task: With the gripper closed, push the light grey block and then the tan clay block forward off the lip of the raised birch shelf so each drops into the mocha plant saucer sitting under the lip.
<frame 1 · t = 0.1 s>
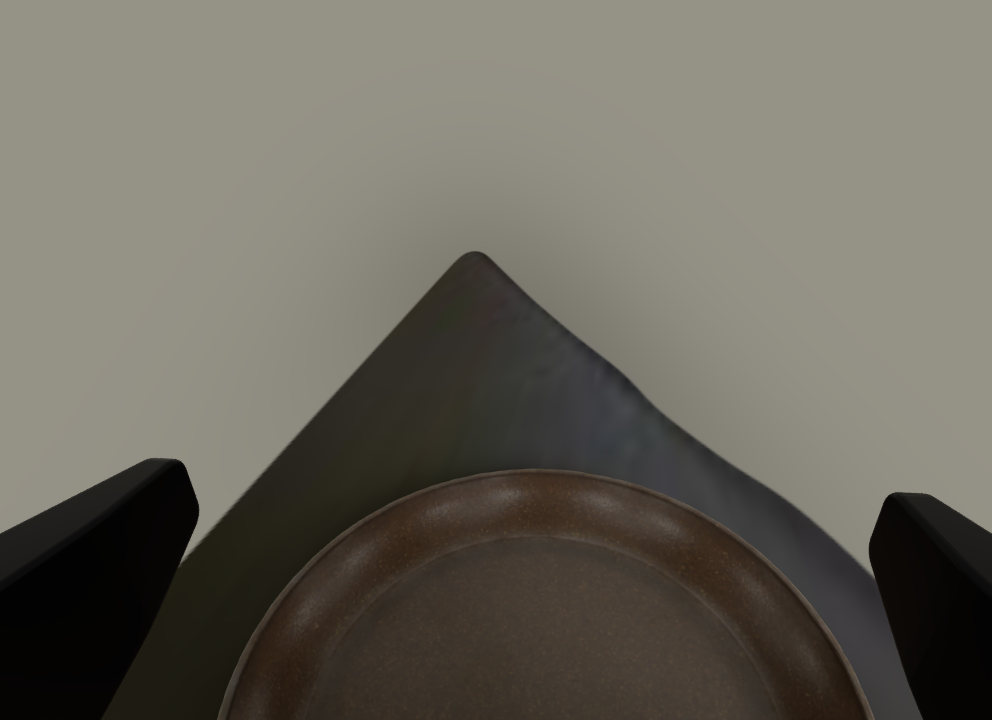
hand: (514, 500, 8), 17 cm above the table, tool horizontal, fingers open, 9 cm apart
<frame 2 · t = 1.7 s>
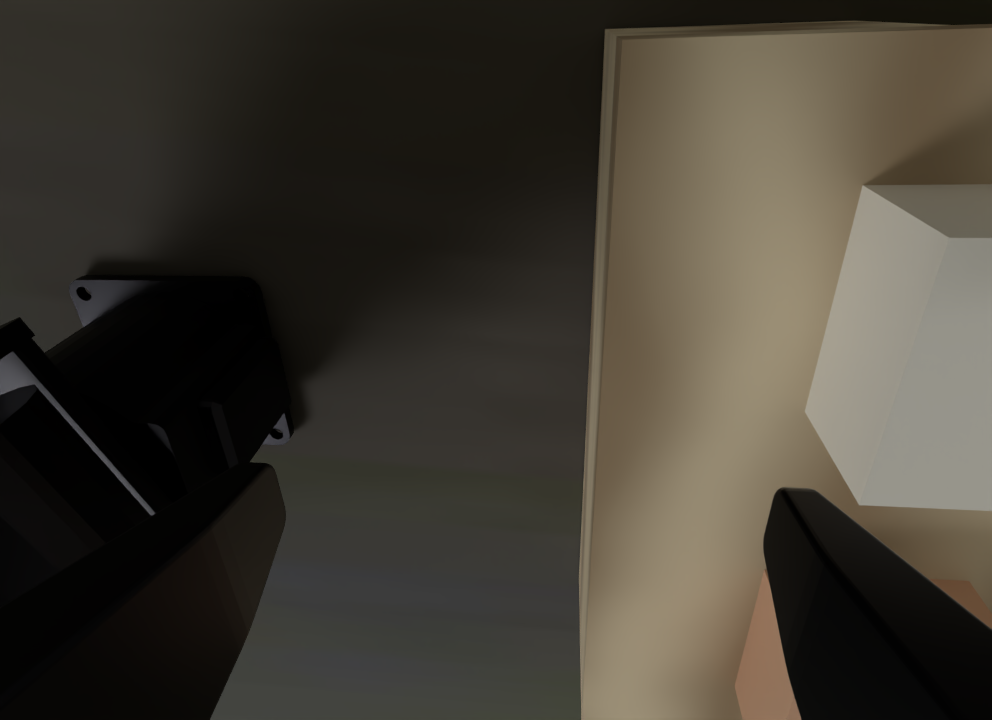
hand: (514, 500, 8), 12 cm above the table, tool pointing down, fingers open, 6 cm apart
tan clay block: (841, 638, 17), point 6 cm above the table, touching board
board: (760, 372, 20), on the table
light grey block: (963, 311, 12), point 6 cm above the table, touching board
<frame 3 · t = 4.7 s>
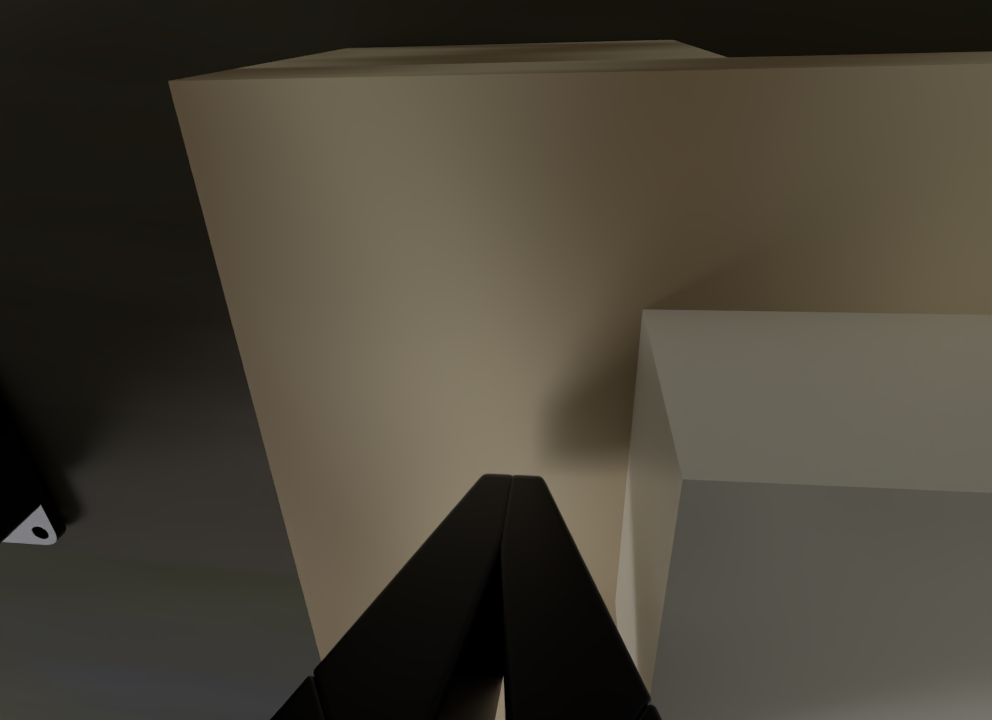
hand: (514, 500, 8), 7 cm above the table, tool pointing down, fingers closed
board: (609, 474, 16), on the table
light grey block: (819, 485, 8), point 6 cm above the table, touching gripper
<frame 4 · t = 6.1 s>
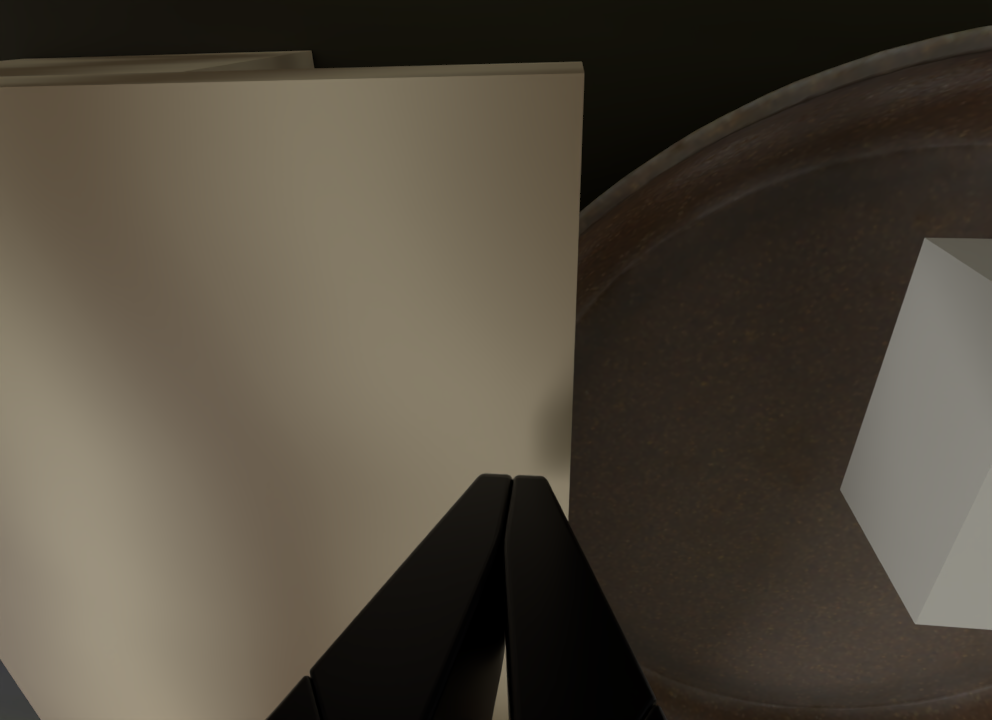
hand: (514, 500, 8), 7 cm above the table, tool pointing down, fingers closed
plant saucer: (840, 473, 16), on the table, touching light grey block
board: (359, 465, 17), on the table
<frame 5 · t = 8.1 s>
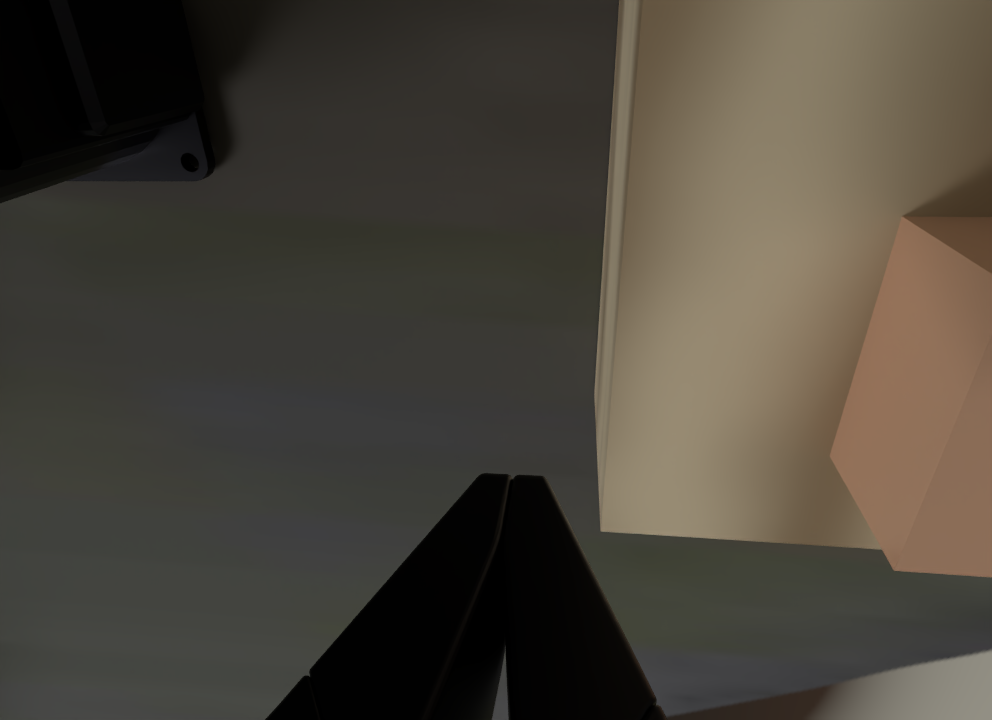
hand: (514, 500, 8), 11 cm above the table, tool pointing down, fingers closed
board: (862, 32, 14), on the table
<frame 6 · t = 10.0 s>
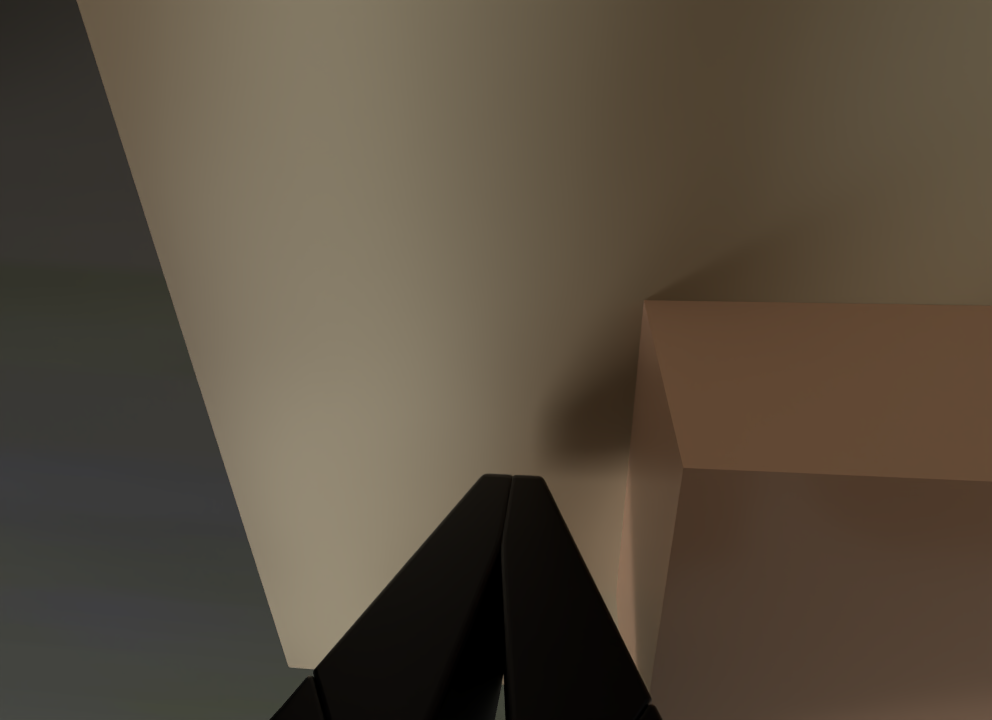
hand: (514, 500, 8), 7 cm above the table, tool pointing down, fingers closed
tan clay block: (822, 478, 8), point 6 cm above the table, touching board, gripper
board: (603, 35, 11), on the table
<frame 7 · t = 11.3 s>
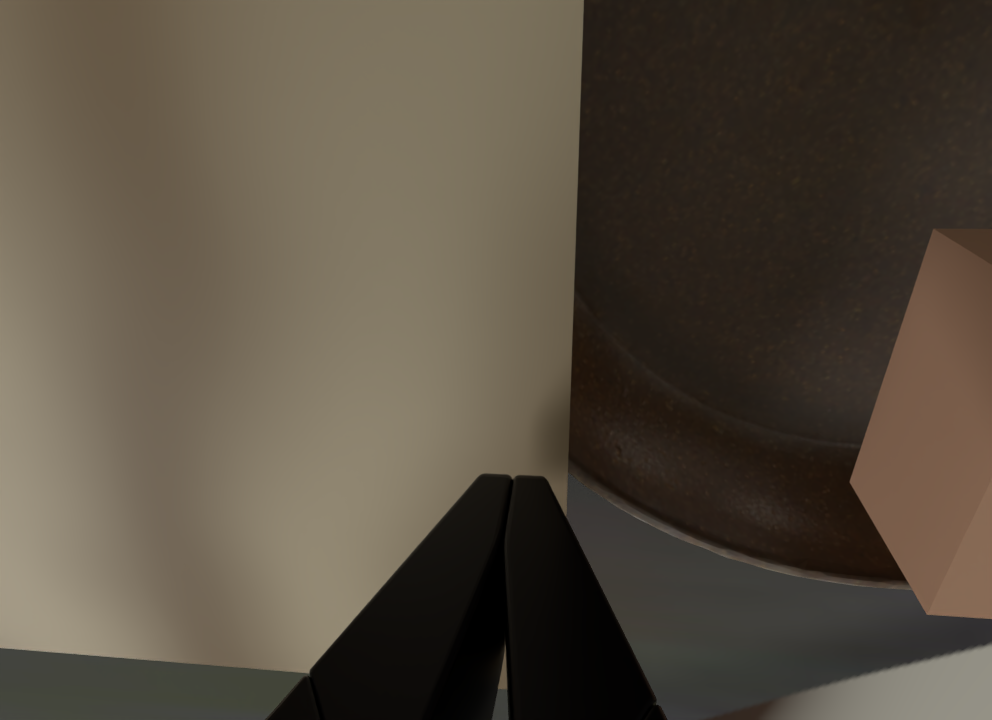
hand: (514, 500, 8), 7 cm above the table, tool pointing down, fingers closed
plant saucer: (971, 37, 11), on the table, touching tan clay block, light grey block
board: (283, 45, 12), on the table
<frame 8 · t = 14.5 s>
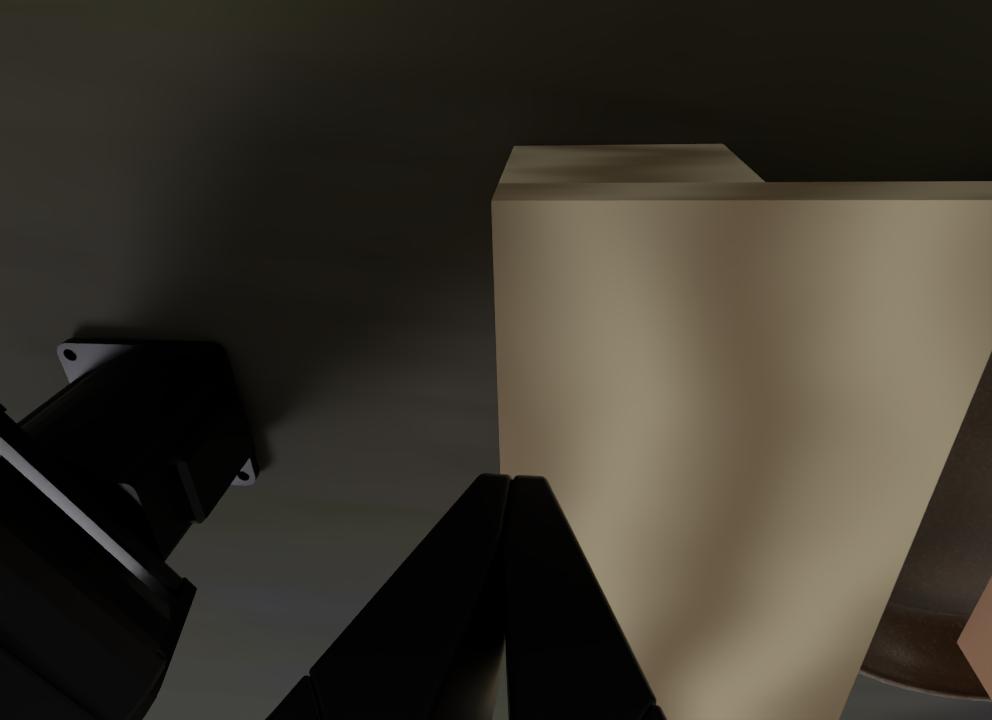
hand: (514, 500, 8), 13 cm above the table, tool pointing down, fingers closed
board: (667, 428, 23), on the table
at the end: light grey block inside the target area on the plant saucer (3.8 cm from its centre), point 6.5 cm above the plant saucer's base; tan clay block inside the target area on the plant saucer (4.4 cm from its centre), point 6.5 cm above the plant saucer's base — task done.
